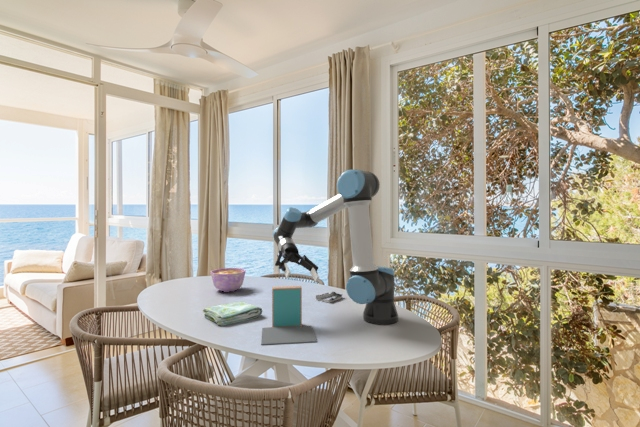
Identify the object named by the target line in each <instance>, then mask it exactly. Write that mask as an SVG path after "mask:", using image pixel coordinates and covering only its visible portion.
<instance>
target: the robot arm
mask: <svg viewBox="0 0 640 427" xmlns="http://www.w3.org/2000/svg"><path fill="white" fill-rule="evenodd" d="M380 183H381V182H380V180H379V177H378V176H377V175H375V173H373V172H371V171H365V170H360V169H358V168H356V169H347V170H345V171H343V172H342V173H341V174H340V176H339V177H338V179H337V183H336V188H337V192H338V193H337V194H336V195H334V196H332V197H330V198H329V199H327V200H324V201H322V202H321V203H320V204H317V205H316V206H314V207H311V209H309V210H307V211H304V212H302V211H301V210H299V209H298V208H295V207H291V206H290V207H288V208H286V211H285V213H284V214H283V217H282V220H281V222H280V225H278V227H276V228H275V229H274V230H273V232H272V238H273V240H274V242H275V243H276V245H277V247H278V249H279V251H278V253H277V254H276V256H277V258H276V261H275V264H274V266H275V267H278V269H279V270H281V271H282V272H283V273H284V276H285V277H286V278H287V279H289V277H290V275H291V269H289V266H288V263H289V262H290V263H293V264H294V263H295V264H297V265H298V266H301V267H303V268H305V269H306V270H308V271H309V273H310V276H311V277H312V278H313V281H314V282H315V283H318V280H319V278H320V276H319V272H318V270H319V266H317V265H316V264H315V263H314V262H313V261H312V260H311V259H309V257H307V255H306V254H304V255H303V256H301V254H300V252H299V249H298V247H297V245H296V244H295V242H294V240H293V238H292V237H293V235H294V233H295V232H296V229H304V228H305V229H306V228H314V227H316V226H318V224H319V223H320V222H321V221H324V220H326V219H327V218H330V217H331V216H333V215H336V214H337V213H339V212H341V211H343V210H345V209H347V213H348V214H347V215H348V224H349V225H348V226H349V236H350V238H349V239H350V248H351V256H352V257H351V259H352V260H351V261H352V267H351V268H350V269H349V278H348V281H346V283H345V289H346V293H347V295H348V297H349V299H351V300H352V301H353V302H354V303H356V304H359V305H365V307H364V311H363V314H362V316H363V317H362V318H363V320H364V321H365V322H367V323H370V324H376V325H392V324H395V323H397V322H398V321H399V314H398V311H397V307H396V304H395V277H396V276H395V270H394V269H393V268H392V267H388V266H379V265H378V266H377V265H375V260H374V250H373V241H372V240H373V239H372V229H371V216H370V209H369V208H370V207H369V206H370V204H371V203H372V202H373V199H372V198H374V197H375V196H376V195H377V194H378V193H379V191H380V187H381V186H380V185H381V184H380ZM282 258H283V259H282ZM281 259H282V260H281Z"/></svg>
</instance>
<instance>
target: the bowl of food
mask: <svg viewBox="0 0 640 427" xmlns="http://www.w3.org/2000/svg"><path fill="white" fill-rule="evenodd" d="M210 275H211V280H212V282H213V286H214V287H215V289H216V290H219V291H220V292H222V291H224V292H223V293H230V292H229V291H233V292H235V291H234V290H239V289H240V288H241V287H242V285H243V284H244V281H245V280H244V279H245V277H246V276H245V275H246V269H245V268H239V267H227V268H226V267H223V268H217V269H213V270H210Z"/></svg>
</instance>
